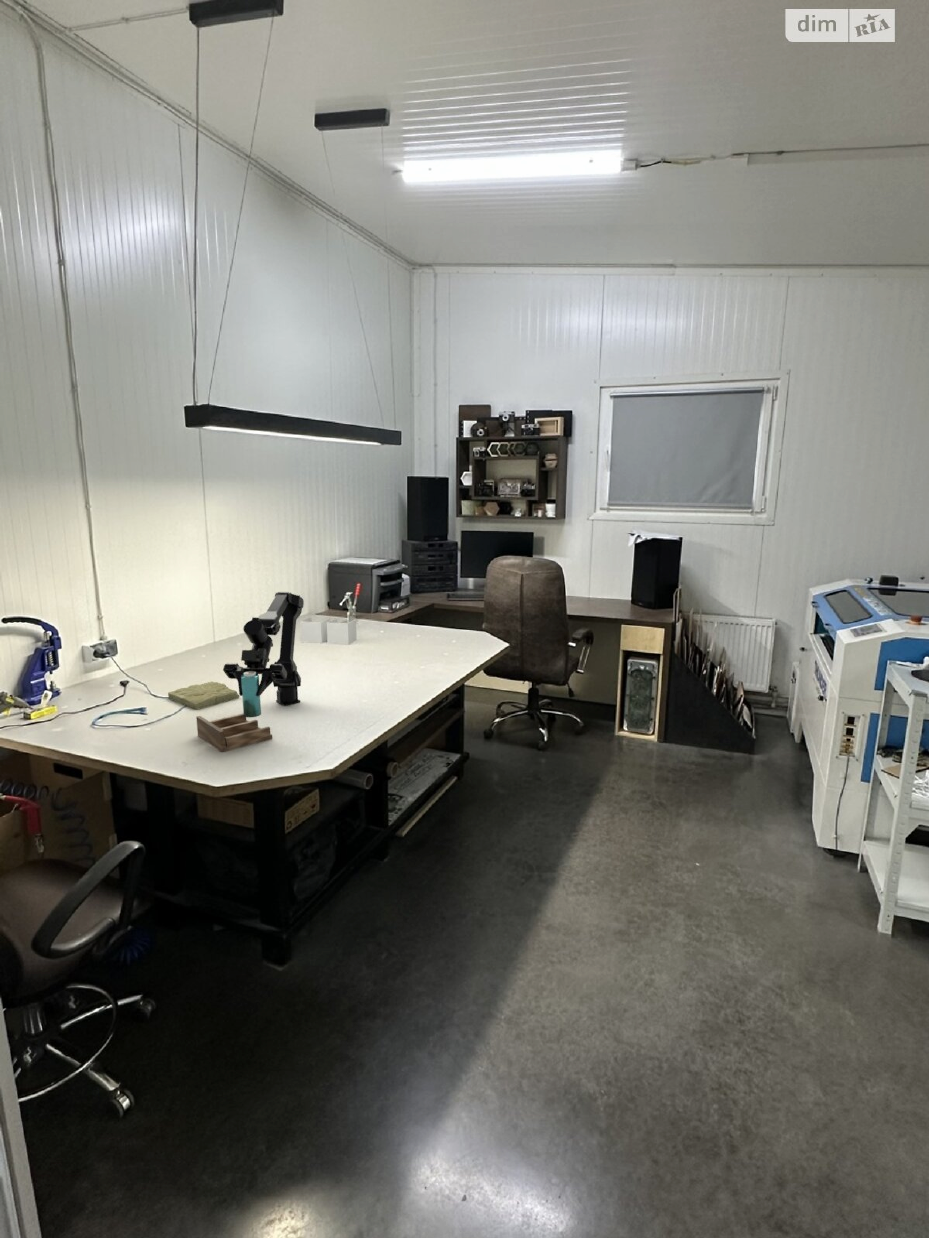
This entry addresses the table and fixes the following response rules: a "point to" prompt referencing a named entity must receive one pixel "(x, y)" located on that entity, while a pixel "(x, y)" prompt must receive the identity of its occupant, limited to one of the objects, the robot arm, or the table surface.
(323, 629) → the storage container
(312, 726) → the table surface
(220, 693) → the decorative tile
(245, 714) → the spray can
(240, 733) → the rack
